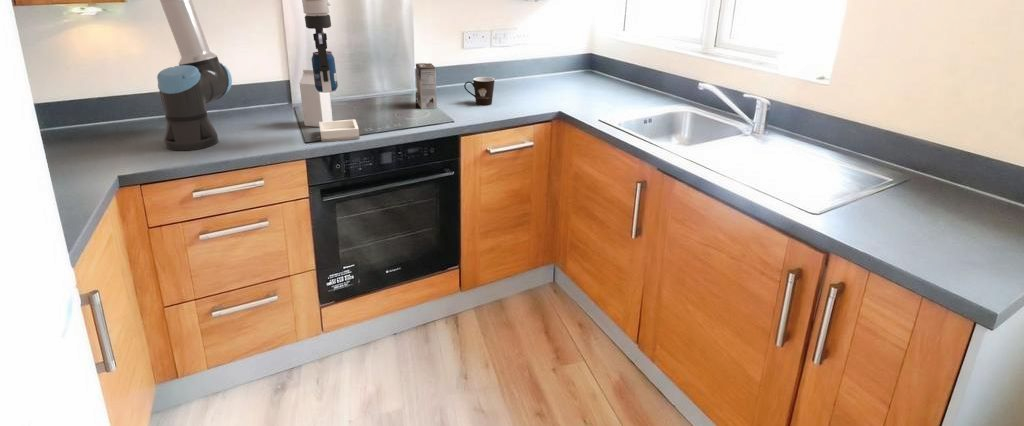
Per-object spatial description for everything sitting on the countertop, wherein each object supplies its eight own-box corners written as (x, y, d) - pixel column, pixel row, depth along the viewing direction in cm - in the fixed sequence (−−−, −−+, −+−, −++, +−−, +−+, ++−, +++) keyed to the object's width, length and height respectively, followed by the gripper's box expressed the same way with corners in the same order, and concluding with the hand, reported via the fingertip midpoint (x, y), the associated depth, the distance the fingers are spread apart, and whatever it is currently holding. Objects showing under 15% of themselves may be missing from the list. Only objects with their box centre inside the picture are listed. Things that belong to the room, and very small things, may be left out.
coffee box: (417, 103, 243) (415, 63, 237) (433, 102, 245) (431, 62, 239) (420, 109, 235) (419, 67, 229) (437, 108, 237) (435, 66, 231)
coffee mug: (498, 103, 247) (498, 78, 242) (486, 107, 240) (486, 82, 236) (475, 99, 252) (475, 75, 248) (463, 103, 245) (462, 78, 241)
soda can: (312, 92, 191) (306, 54, 186) (320, 88, 197) (315, 50, 193) (333, 93, 191) (328, 54, 186) (341, 88, 197) (336, 50, 192)
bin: (321, 142, 195) (320, 131, 194) (320, 131, 205) (319, 121, 204) (359, 139, 199) (358, 128, 197) (356, 129, 209) (355, 119, 208)
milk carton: (323, 127, 210) (317, 72, 202) (304, 126, 212) (297, 71, 204) (332, 122, 217) (327, 68, 209) (314, 120, 218) (308, 67, 210)
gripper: (330, 17, 177) (340, 94, 186) (328, 10, 194) (337, 82, 204) (304, 18, 175) (315, 96, 184) (304, 11, 192) (314, 83, 202)
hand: (326, 89), depth 194 cm, fingers closed on soda can, 7 cm apart
